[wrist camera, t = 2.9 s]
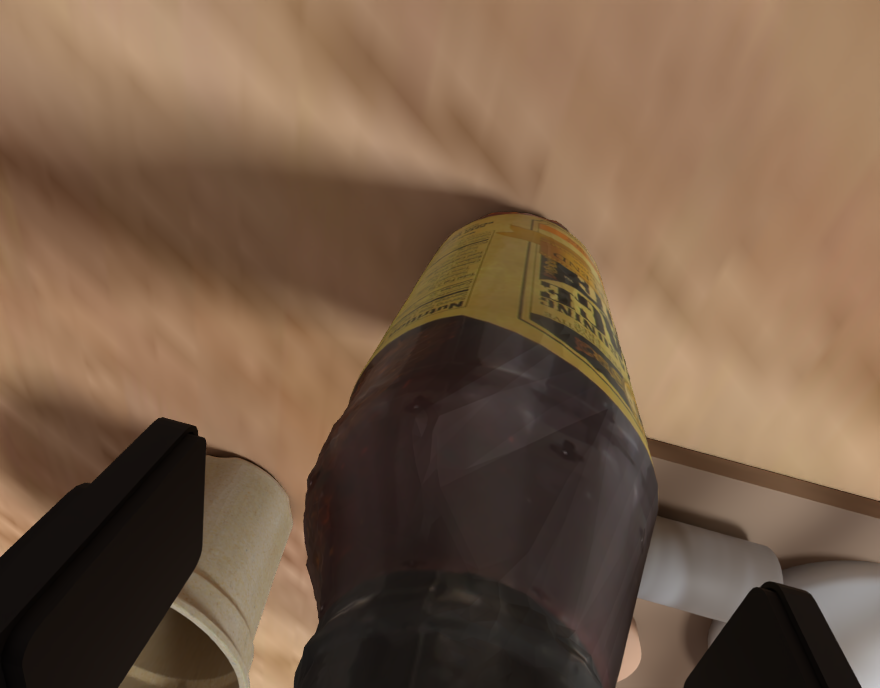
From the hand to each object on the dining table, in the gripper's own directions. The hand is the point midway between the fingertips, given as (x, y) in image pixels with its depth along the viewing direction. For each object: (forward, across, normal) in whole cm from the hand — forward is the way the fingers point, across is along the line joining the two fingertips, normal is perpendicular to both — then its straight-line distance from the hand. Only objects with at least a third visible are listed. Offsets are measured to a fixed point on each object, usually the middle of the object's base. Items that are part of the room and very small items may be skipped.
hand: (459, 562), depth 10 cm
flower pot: (+14, +10, +15) cm, 22 cm away
